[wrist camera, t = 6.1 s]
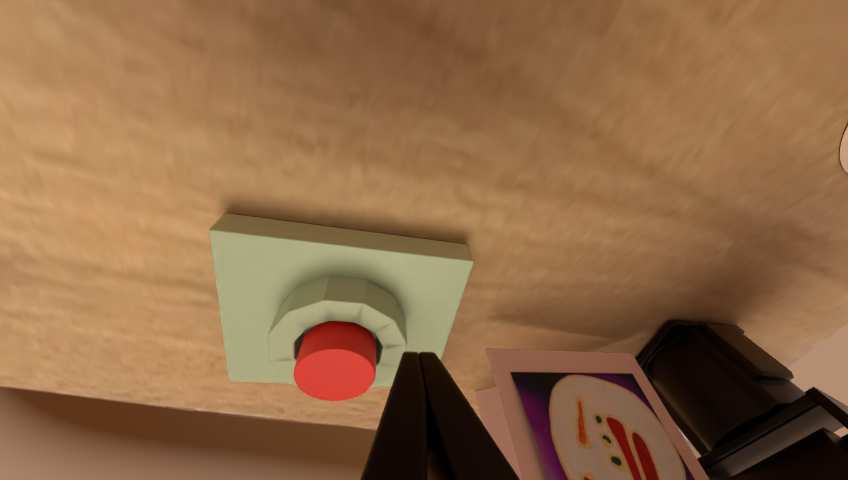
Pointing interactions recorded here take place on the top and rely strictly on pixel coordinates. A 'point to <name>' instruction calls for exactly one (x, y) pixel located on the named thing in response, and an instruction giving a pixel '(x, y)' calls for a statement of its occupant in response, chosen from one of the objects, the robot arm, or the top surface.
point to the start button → (336, 361)
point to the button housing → (330, 292)
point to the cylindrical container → (844, 151)
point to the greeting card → (581, 418)
